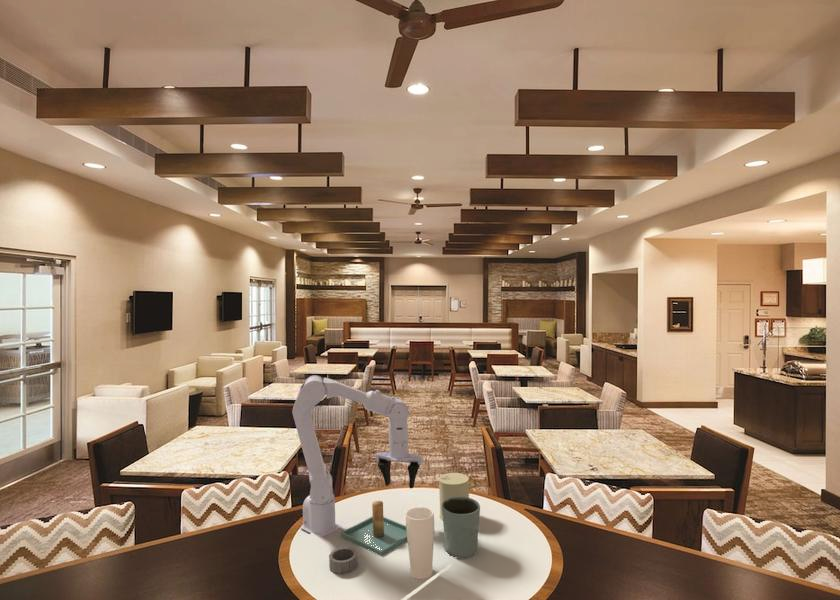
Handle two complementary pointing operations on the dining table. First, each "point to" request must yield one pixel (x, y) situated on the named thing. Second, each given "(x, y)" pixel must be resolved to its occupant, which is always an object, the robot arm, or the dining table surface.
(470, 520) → the green cup
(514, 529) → the dining table surface
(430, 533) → the drinking glass
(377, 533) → the pin
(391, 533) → the tray
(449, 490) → the can
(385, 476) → the robot arm
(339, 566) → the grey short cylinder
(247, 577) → the dining table surface
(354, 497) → the dining table surface
